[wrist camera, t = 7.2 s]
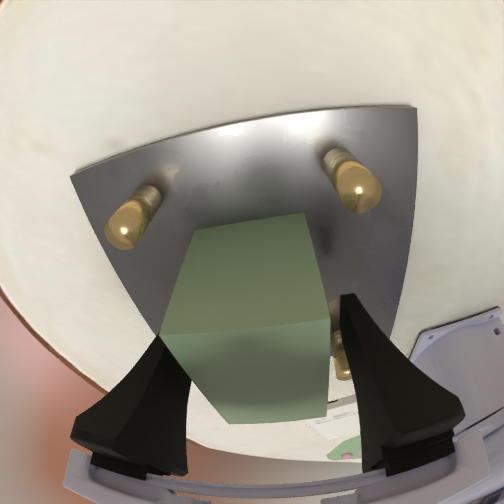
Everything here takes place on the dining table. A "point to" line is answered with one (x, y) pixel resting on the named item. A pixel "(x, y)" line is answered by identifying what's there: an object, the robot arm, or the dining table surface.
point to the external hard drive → (337, 419)
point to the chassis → (267, 202)
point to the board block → (253, 321)
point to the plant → (347, 450)
